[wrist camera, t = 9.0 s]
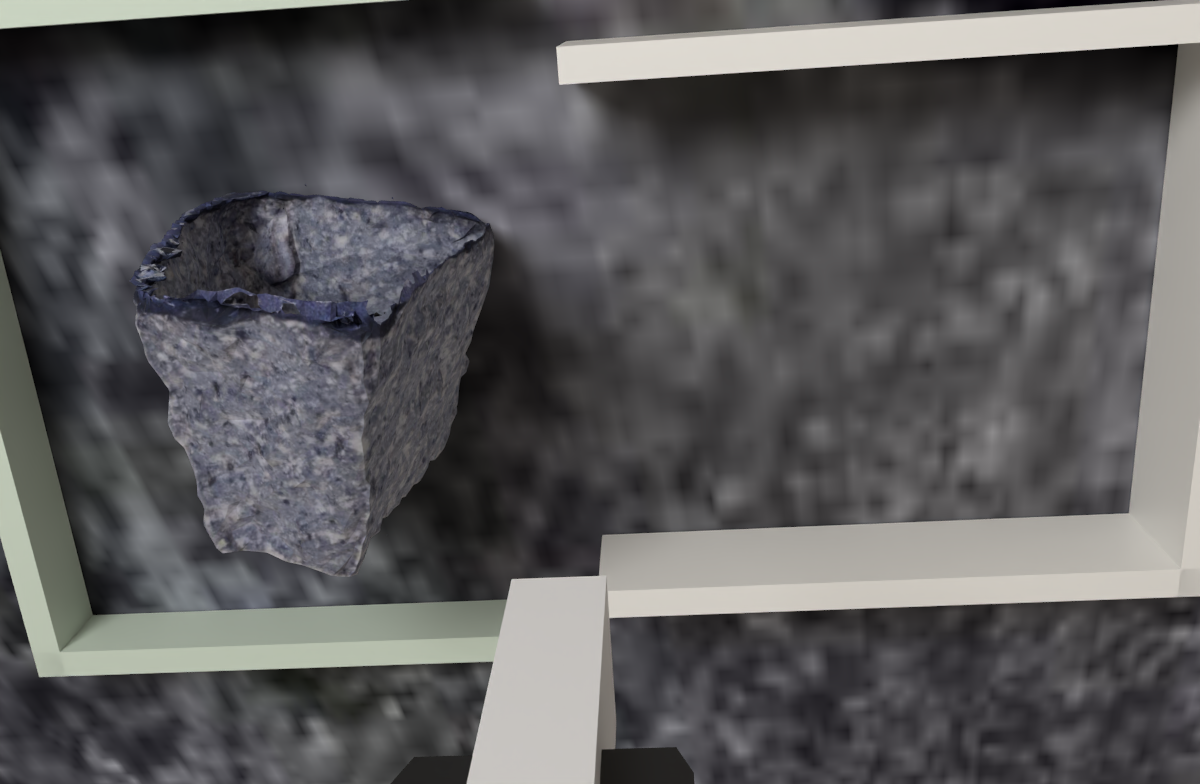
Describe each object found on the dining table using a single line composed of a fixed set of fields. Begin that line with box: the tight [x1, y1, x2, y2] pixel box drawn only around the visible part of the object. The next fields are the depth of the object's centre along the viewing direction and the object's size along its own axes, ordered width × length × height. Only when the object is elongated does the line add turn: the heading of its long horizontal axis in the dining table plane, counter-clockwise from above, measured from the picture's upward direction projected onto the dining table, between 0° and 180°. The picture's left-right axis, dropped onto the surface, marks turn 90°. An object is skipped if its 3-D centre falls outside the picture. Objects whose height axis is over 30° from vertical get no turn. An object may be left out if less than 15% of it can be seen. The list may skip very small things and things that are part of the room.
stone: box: [130, 184, 494, 577], centre depth 33 cm, size 12×10×10 cm
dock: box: [556, 0, 1200, 618], centre depth 35 cm, size 20×18×4 cm
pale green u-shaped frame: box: [0, 0, 507, 677], centre depth 36 cm, size 19×23×2 cm
